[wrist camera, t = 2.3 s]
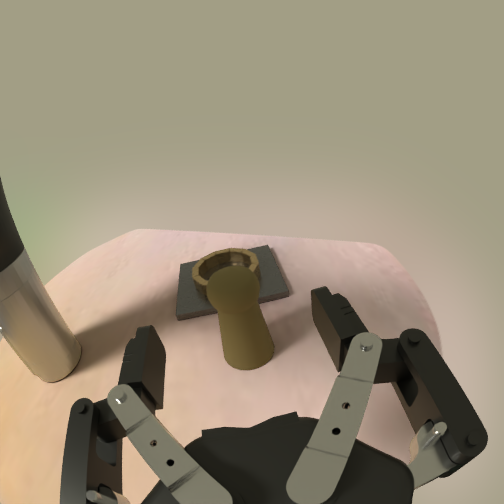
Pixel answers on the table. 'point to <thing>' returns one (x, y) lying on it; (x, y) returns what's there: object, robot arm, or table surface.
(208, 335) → the table surface
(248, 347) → the cork
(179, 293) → the collar plate
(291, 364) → the table surface
